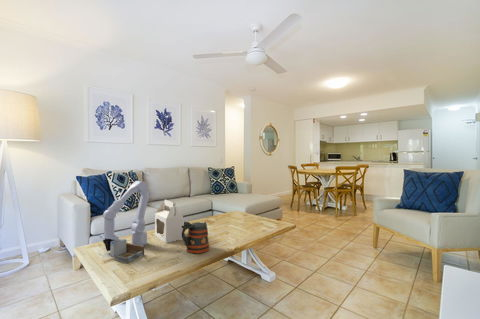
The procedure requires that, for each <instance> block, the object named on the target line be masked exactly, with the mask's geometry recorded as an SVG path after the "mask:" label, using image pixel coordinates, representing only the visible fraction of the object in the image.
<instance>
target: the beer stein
mask: <svg viewBox="0 0 480 319" xmlns="http://www.w3.org/2000/svg"><path fill="white" fill-rule="evenodd" d="M182 228H183V230H182V241H183V242H184V246H185V247H186V251H187V252H188V253H190V254H196V253H197V254H202V253H206V252H208V251H209V250H210V246H209V245H210V242H209V232H208V225H207V222H206V221H205V222H193V223H190V222H188V221H183V226H182ZM187 230H188V232H187V236H186V235H185V232H186V231H187Z"/></svg>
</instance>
